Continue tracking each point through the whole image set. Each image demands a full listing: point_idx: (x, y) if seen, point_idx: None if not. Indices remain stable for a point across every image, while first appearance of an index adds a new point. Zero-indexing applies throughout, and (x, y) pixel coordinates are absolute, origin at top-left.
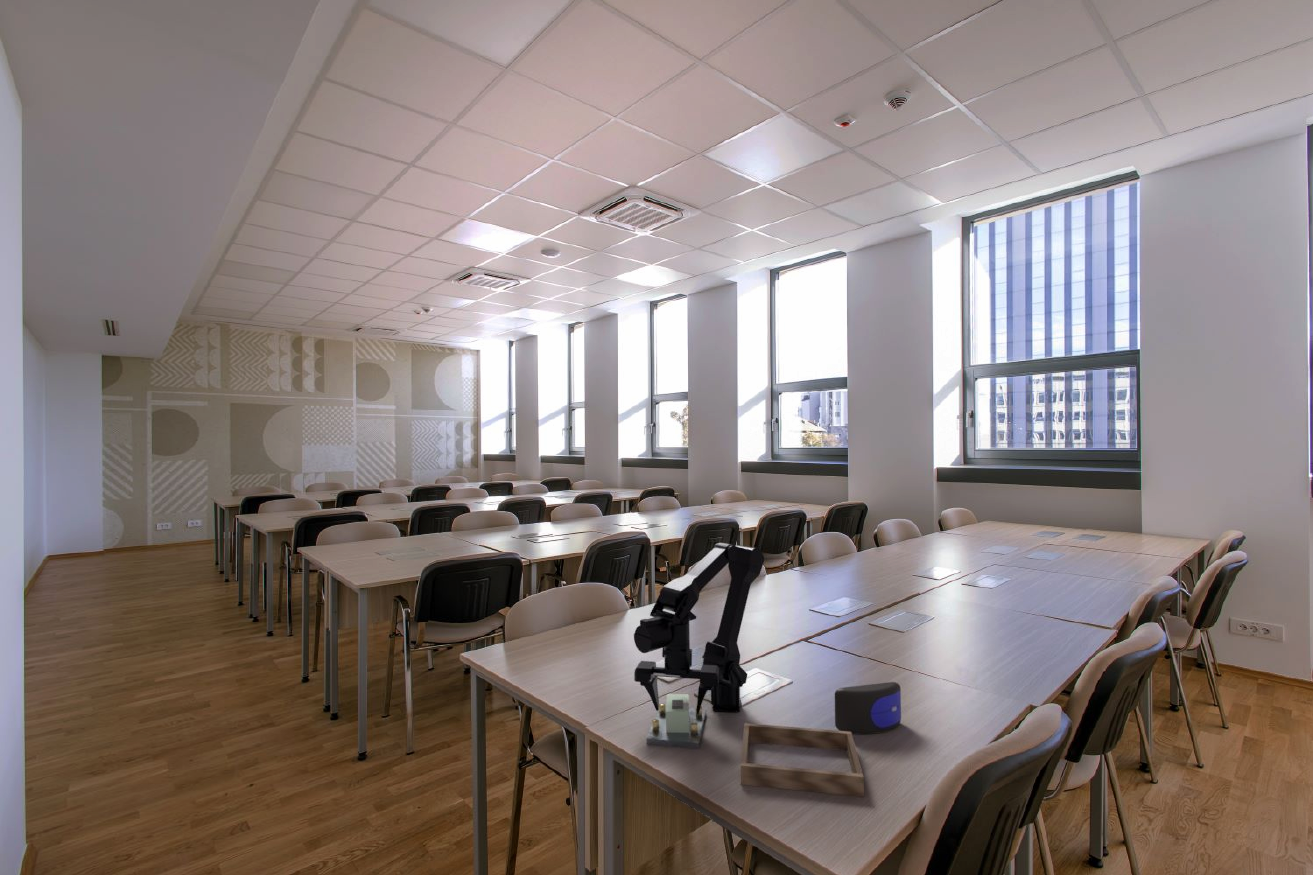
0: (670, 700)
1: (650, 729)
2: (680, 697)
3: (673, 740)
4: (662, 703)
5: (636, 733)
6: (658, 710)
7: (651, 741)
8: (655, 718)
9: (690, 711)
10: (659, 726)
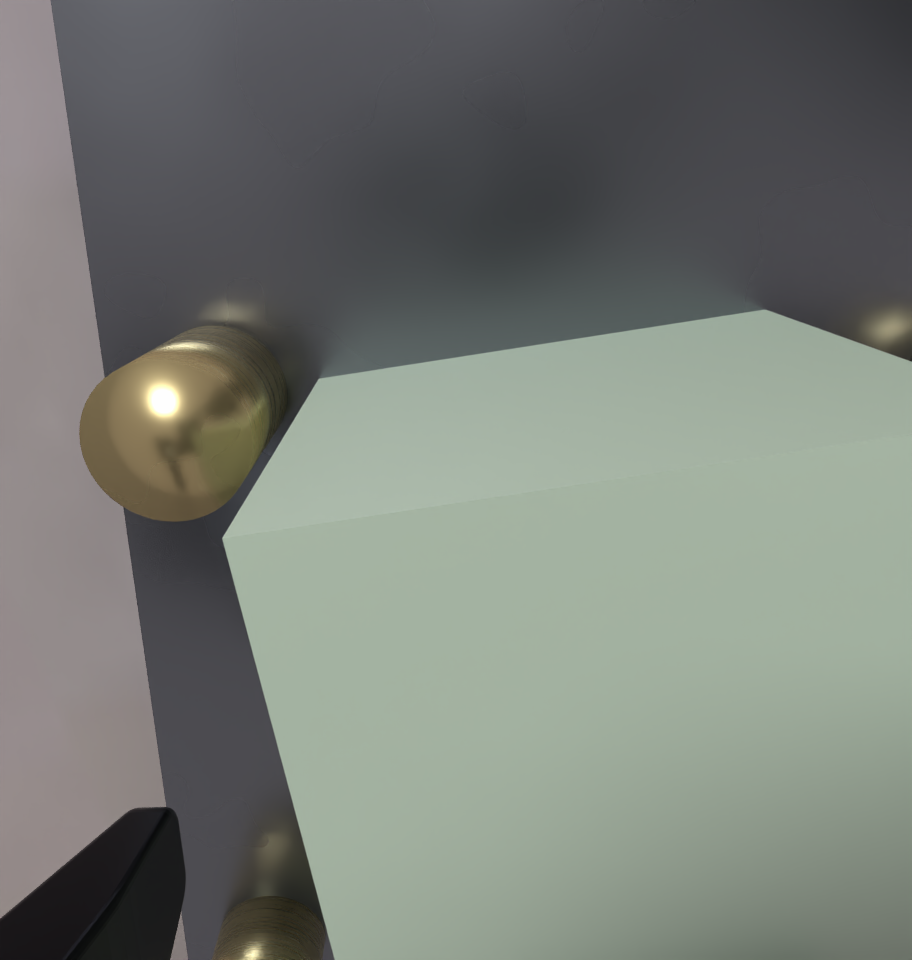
0: (450, 942)
1: (191, 941)
2: (745, 702)
3: None
4: (146, 367)
5: (4, 868)
6: (96, 272)
7: None
8: (151, 611)
9: (800, 197)
10: (301, 839)
